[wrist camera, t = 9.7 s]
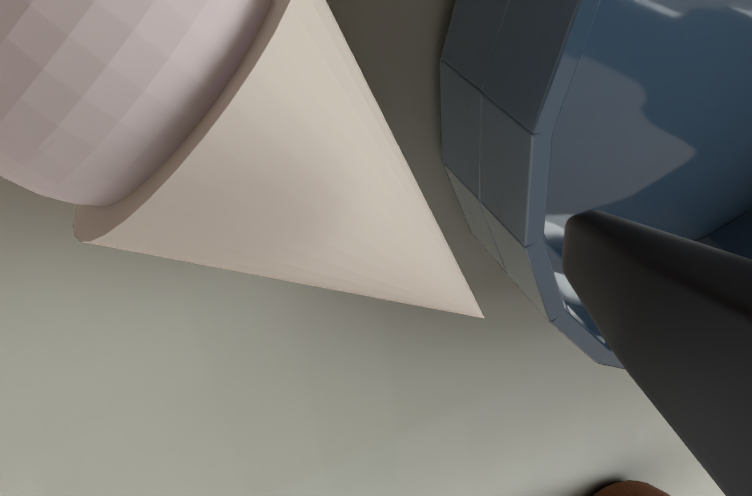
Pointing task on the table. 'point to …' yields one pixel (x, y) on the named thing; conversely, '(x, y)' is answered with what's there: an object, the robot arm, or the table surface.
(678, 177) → the bowl
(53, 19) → the ice cream cone
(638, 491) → the wooden figurine
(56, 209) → the table surface
